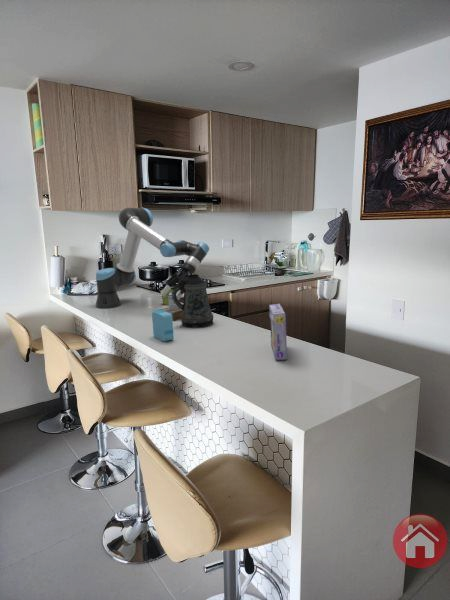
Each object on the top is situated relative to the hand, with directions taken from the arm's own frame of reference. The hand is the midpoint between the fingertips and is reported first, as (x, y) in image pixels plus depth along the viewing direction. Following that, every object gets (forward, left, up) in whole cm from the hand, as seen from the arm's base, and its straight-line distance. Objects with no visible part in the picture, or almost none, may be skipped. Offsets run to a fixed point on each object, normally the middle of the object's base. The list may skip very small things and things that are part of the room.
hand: (169, 296), depth 209 cm
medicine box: (0, +2, -7) cm, 8 cm away
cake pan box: (+79, -5, -12) cm, 80 cm away
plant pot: (-32, +20, -12) cm, 40 cm away
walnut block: (0, +2, -12) cm, 12 cm away
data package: (+29, -24, -12) cm, 40 cm away
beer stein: (+21, 0, -12) cm, 24 cm away
